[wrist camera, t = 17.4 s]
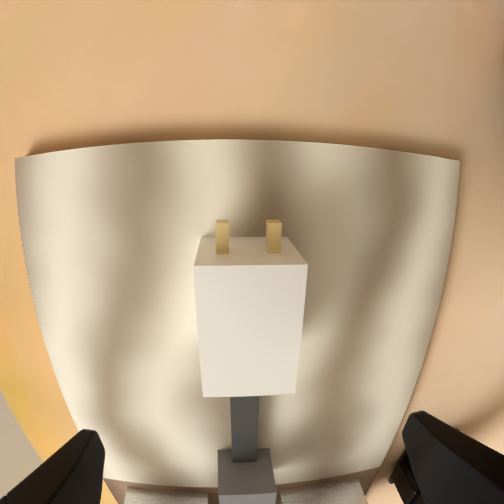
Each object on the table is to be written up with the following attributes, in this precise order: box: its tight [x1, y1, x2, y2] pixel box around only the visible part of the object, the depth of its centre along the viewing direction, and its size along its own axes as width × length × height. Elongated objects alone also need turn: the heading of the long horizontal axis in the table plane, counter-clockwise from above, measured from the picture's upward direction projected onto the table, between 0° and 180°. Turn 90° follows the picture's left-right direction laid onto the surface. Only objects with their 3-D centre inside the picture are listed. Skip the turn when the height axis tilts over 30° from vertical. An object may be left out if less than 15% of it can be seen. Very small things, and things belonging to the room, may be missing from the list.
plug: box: [194, 220, 308, 504], centre depth 16 cm, size 4×19×4 cm, turn 179°
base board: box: [15, 139, 460, 504], centre depth 23 cm, size 24×57×1 cm, turn 179°
